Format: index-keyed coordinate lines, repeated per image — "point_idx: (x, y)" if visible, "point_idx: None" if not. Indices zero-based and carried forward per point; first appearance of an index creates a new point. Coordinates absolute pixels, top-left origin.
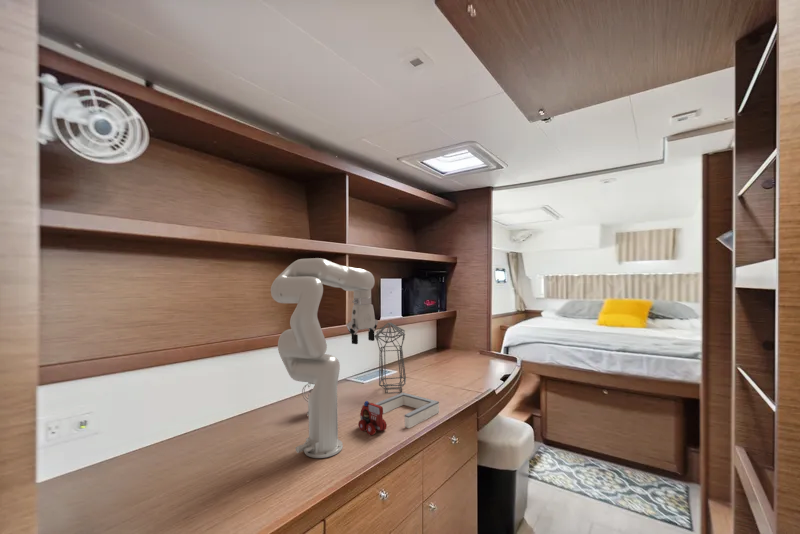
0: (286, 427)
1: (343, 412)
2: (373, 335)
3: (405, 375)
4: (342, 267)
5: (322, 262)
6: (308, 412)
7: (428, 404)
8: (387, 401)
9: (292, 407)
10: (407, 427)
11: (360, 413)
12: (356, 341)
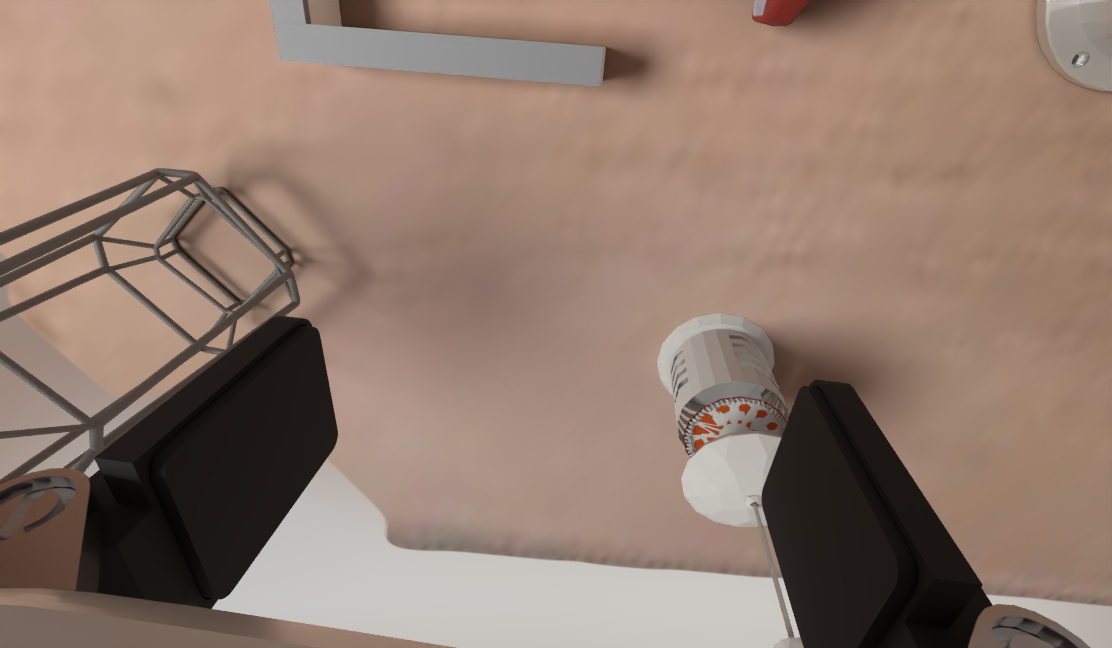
0: (929, 358)
1: (645, 263)
2: (225, 386)
3: (75, 241)
4: None
5: None
6: (749, 391)
7: None
8: (479, 37)
9: None
10: None
11: (793, 20)
12: (865, 425)
